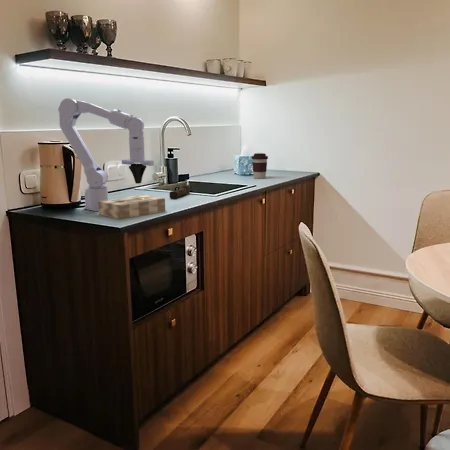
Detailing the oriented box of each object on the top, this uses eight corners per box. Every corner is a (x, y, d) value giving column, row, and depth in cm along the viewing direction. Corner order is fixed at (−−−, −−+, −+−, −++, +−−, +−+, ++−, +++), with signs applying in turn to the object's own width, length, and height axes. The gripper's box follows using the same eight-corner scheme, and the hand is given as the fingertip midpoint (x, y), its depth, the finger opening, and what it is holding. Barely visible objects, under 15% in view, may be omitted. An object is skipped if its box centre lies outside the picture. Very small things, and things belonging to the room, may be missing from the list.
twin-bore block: (99, 214, 179) (98, 201, 178) (143, 206, 194) (142, 194, 193) (120, 219, 169) (120, 205, 168) (165, 210, 185) (164, 198, 184)
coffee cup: (248, 177, 290) (248, 153, 287) (262, 177, 294) (262, 152, 291) (256, 179, 281) (256, 154, 278) (270, 178, 285) (271, 153, 282)
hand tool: (177, 199, 212) (176, 189, 211) (169, 199, 213) (168, 189, 212) (194, 194, 229) (194, 184, 228) (187, 193, 231) (186, 184, 230)
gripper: (115, 148, 184) (117, 183, 187) (145, 149, 177) (146, 185, 180) (127, 147, 190) (129, 181, 193) (156, 148, 183) (157, 183, 186)
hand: (138, 183), depth 187 cm, fingers closed
